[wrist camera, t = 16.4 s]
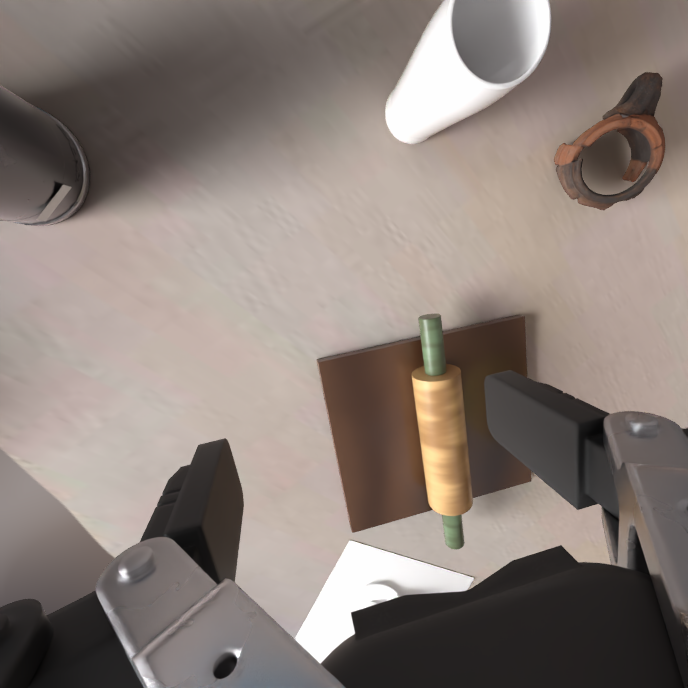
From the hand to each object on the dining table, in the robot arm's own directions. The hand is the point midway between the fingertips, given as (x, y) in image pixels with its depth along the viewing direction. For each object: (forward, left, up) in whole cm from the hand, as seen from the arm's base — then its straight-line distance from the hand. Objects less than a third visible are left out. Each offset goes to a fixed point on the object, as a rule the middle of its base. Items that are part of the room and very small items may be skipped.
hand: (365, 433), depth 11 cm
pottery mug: (+34, +10, -28) cm, 45 cm away
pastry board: (+12, -17, -28) cm, 35 cm away
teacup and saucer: (+2, -44, -28) cm, 52 cm away
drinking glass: (+14, +16, -28) cm, 35 cm away
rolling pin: (+12, -17, -27) cm, 34 cm away
